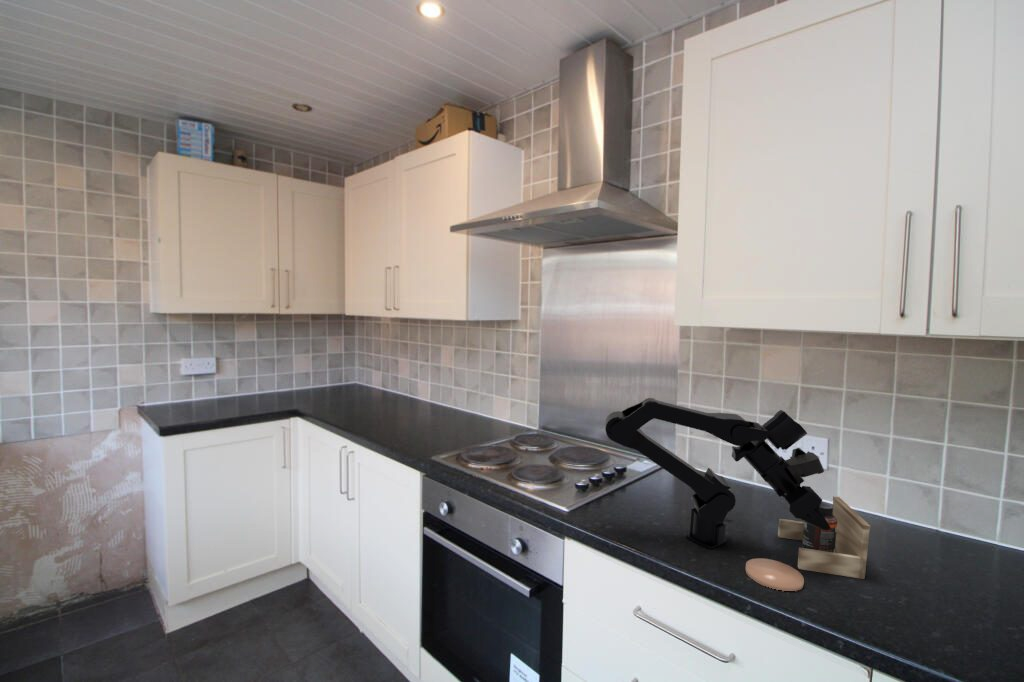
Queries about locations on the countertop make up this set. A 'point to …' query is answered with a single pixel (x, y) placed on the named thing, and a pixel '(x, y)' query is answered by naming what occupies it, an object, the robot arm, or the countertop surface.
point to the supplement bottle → (821, 532)
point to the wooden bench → (848, 545)
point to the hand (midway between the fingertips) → (820, 519)
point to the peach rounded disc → (774, 574)
